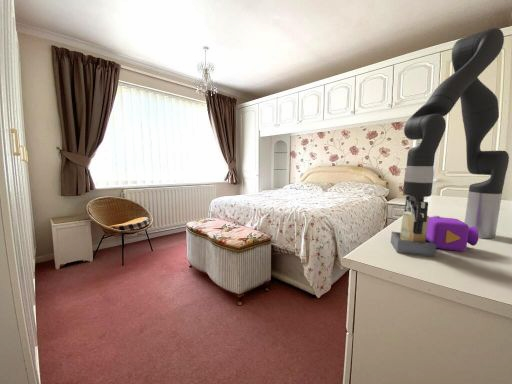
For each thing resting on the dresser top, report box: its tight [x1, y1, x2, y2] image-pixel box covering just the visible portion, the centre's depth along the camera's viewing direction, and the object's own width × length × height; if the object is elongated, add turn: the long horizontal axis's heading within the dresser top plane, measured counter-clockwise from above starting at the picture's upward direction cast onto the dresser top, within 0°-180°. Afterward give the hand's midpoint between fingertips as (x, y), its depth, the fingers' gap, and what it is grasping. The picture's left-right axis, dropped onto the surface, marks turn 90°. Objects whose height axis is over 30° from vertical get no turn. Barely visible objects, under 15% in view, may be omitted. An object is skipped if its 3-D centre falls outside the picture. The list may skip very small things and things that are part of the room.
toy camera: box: [426, 214, 480, 252], centre depth 78 cm, size 11×14×10 cm
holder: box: [390, 231, 437, 258], centre depth 75 cm, size 10×10×4 cm
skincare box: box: [400, 211, 430, 243], centre depth 75 cm, size 6×4×12 cm
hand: (412, 229), depth 75 cm, fingers open, 8 cm apart
